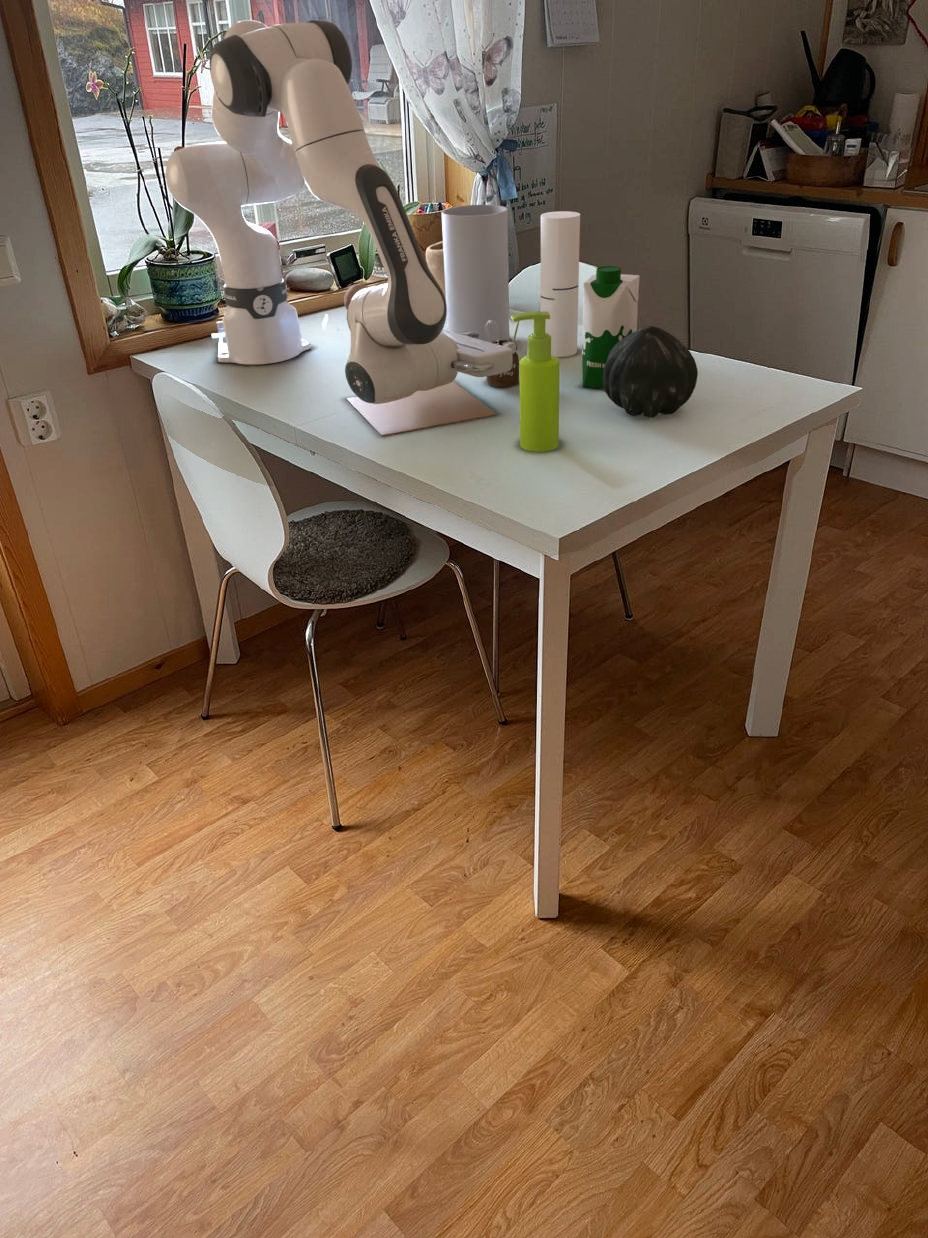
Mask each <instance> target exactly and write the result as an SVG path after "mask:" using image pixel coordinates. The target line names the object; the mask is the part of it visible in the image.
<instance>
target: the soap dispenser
mask: <svg viewBox="0 0 928 1238" xmlns="http://www.w3.org/2000/svg"><path fill="white" fill-rule="evenodd" d="M510 318H511V319H512V321H513V322H515V323H518V321H519V322H521V321H527V320H533V332H532V333H531V334H529V335H527V356H523V357H522V358H519V439H520V440H519V445H520V448H521V449H522V450H525V451H527V452H532V453H533V452H534V453H544V452H550V451H553V450H556V449H557V448H558V447H559V446H560V445H559V444H560V443H559V442H560V441H559V439H560V438H559V437H560V436H559V435H560V434H559V433H560V432H559V431H560V368H561V367H560V364H561V361H560V359H559V357H554V356H551V336H550V335H549V334H547V333H545V319H550V314H549V313H548V312H543V311H539V310H538V311H537V310H535V311H534V310H533V311H523V312H520V313H516V314H514V315H511V316H510Z"/></svg>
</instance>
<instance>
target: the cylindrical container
mask: <svg viewBox="0 0 928 1238" xmlns="http://www.w3.org/2000/svg"><path fill="white" fill-rule="evenodd" d="M580 231H581V213H579V212H577V211H571V210H570V211H569V210H566V211H565V210H561V211H560V210H558V211H549V212H543V213H541V214H540V308H539V309H540V311H543V312H548V313H549V314H550V319H545V333H547V334H549V335H550V336H551V356H554V357H557V358H566V357H567V358H568V357H571V356H574V355H576V354H577V353H578V328H579V326H578V325H579V323H578V322H579V287H580V286H579V284H580V283H579V281H580V280H579V278H580V239H581V238H580V237H581V232H580Z"/></svg>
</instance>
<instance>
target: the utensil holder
mask: <svg viewBox="0 0 928 1238" xmlns="http://www.w3.org/2000/svg"><path fill="white" fill-rule="evenodd" d="M492 321H493V320H491V322H492ZM494 322H495V321H494ZM487 323H488V322H487ZM491 324H492V323H491ZM493 324H494V323H493ZM495 324H497V323H496V322H495ZM519 324H520V321H518V322H516V326H515V330H514V335H513V338H512V340H510V339H509V340H496V341H492V342H490V340H489V342H490V343H494V344H498V345H501V346H503V343H505V342H508V341H510V342H514V343H516V352H515V353H513V354H512V355H513V365H512V368H511V370H509V371H507V372H503V373H500V374H496V375H491V376H486V382H487V384H488V385H489V386H492V387H496V388H508V387H512V386H515V385H517V384H518V383H519V382H520V373H519V361H520V356H519V354H518V352H517V351H518V345H517V342H516V337H517V333H518V329H519V326H520V325H519ZM485 325H486V324H485ZM486 326H487V325H486ZM494 326H495V325H494ZM497 326H498V325H497ZM497 326H496V327H497ZM487 328H488V326H487ZM492 328H493V327H492ZM490 329H491V328H490ZM495 329H496V328H495ZM498 330H499V329H498ZM498 330H497V331H498ZM485 331H487V329H486V330H485ZM488 333H489V332H488ZM493 333H494V332H493ZM491 334H492V333H491ZM496 334H497V332H496ZM487 335H488V334H487ZM487 335H486V336H487ZM489 336H490V335H489ZM492 338H493V337H492ZM488 339H489V338H488ZM490 339H491V338H490ZM494 339H495V337H494Z"/></svg>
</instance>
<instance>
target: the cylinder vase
mask: <svg viewBox="0 0 928 1238" xmlns="http://www.w3.org/2000/svg"><path fill="white" fill-rule="evenodd" d="M508 220H509V219H508V207H506V206H504V205H498V204H497V205H496V204H467V205H458V206H452V207H448V208H445V209H443V210H441V227H442V228H441V231H442V241H443V252H444V271H445V291H446V305H447V315H446V327H447V328H446V329H447V330H446V331H450V332H454V333H468V332H471V331H472V332H476V333H478V334H479V337H478V338H479V340H483V341H487V342H489V340H490V342H492V341H496V340H510V287H509V285H510V284H509V283H510V282H509V281H510V280H509V237H508V236H509V231H508V230H509V227H508V226H509V225H508ZM491 320H493V321H492V322H491ZM494 321H495V322H496V323H497V324H495V322H494ZM487 322H488V323H487ZM491 323H492V324H491ZM493 323H494V324H493ZM485 324H486V325H487V326H488V328H487V326H486V325H485ZM494 325H495V326H494ZM497 325H498V326H497ZM496 326H497V327H496ZM492 327H493V328H492ZM490 328H491V329H490ZM495 328H496V329H495ZM486 329H487V331H485V330H486ZM498 329H499V330H498ZM497 330H498V331H497ZM488 332H489V333H488ZM493 332H494V333H493ZM496 332H497V334H496ZM491 333H492V334H491ZM487 334H488V335H487ZM486 335H487V336H486ZM489 335H490V336H489ZM492 337H493V338H492ZM494 337H495V339H494ZM488 338H489V339H488ZM490 338H491V339H490Z"/></svg>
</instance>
